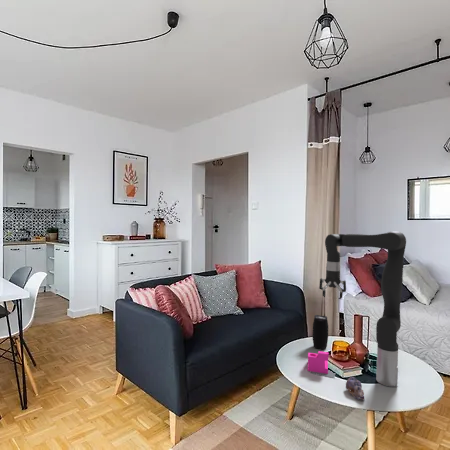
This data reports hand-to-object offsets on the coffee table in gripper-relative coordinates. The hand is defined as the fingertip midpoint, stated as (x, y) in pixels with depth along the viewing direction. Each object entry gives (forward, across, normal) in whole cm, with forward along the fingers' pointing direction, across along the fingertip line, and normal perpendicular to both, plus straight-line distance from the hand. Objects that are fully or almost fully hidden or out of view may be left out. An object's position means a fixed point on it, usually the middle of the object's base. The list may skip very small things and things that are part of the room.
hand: (332, 297), depth 180 cm
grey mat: (+36, +2, +13) cm, 38 cm away
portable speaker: (+36, +8, -16) cm, 40 cm away
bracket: (+36, +5, +12) cm, 38 cm away
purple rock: (+36, -14, +31) cm, 50 cm away
